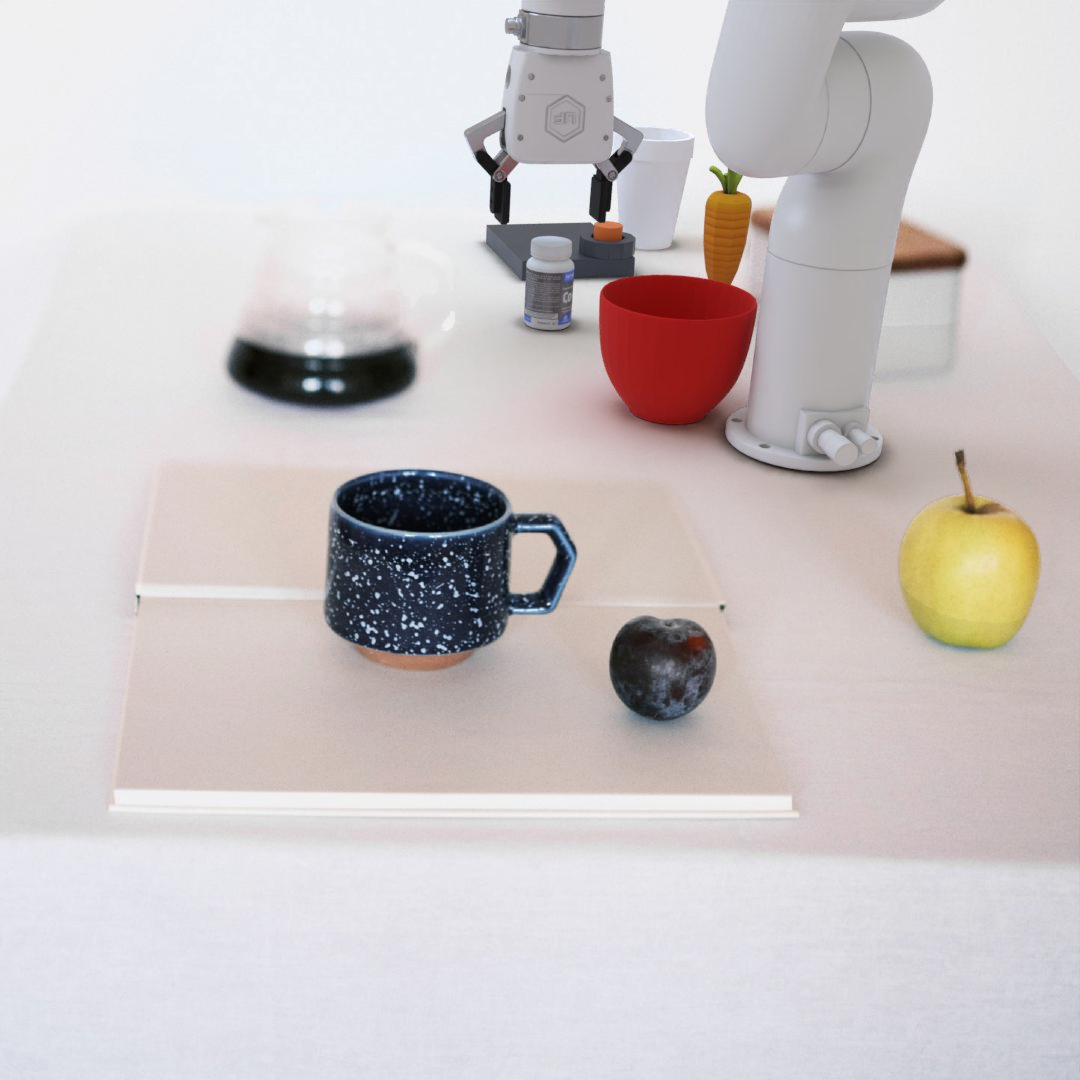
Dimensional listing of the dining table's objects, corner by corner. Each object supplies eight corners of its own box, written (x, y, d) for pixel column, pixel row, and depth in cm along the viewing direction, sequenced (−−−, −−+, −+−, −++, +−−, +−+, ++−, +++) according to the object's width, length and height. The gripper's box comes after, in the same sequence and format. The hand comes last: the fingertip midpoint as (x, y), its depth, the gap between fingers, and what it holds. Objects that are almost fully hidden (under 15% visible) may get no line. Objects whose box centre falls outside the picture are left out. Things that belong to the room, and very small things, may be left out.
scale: (639, 278, 153) (642, 242, 152) (523, 282, 150) (524, 246, 148) (593, 240, 168) (596, 207, 166) (485, 243, 164) (486, 209, 162)
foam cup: (593, 235, 169) (601, 127, 164) (659, 231, 173) (668, 124, 167) (630, 255, 162) (639, 142, 156) (698, 250, 165) (709, 140, 160)
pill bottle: (570, 332, 135) (576, 248, 131) (522, 330, 135) (526, 245, 131) (571, 317, 139) (576, 235, 135) (524, 315, 139) (528, 233, 135)
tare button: (625, 243, 153) (627, 227, 152) (598, 244, 152) (599, 228, 151) (616, 236, 155) (617, 220, 155) (589, 236, 155) (590, 221, 154)
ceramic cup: (784, 392, 123) (799, 283, 118) (705, 452, 109) (718, 331, 105) (654, 362, 128) (663, 256, 124) (564, 415, 115) (570, 299, 111)
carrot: (726, 308, 145) (743, 163, 138) (686, 298, 147) (700, 155, 141) (750, 298, 148) (767, 157, 142) (710, 289, 151) (725, 149, 144)
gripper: (478, 37, 119) (471, 232, 127) (664, 41, 124) (646, 229, 132) (459, 25, 126) (453, 211, 134) (636, 29, 130) (621, 209, 138)
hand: (549, 220), depth 133 cm, fingers open, 9 cm apart
